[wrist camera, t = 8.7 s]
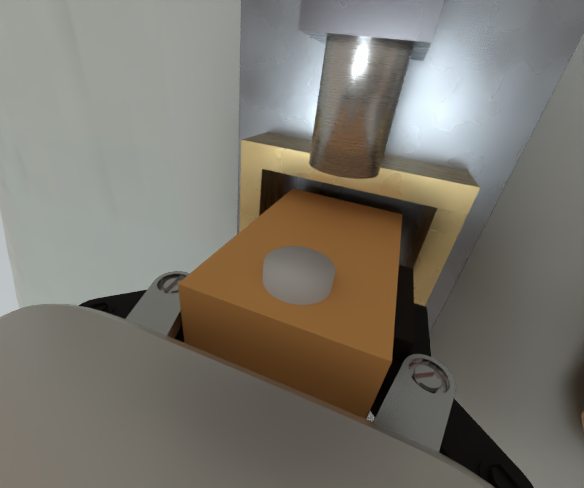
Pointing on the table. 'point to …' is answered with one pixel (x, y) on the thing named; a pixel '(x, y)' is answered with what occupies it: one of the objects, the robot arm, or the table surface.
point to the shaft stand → (398, 111)
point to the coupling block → (303, 298)
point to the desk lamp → (582, 419)
